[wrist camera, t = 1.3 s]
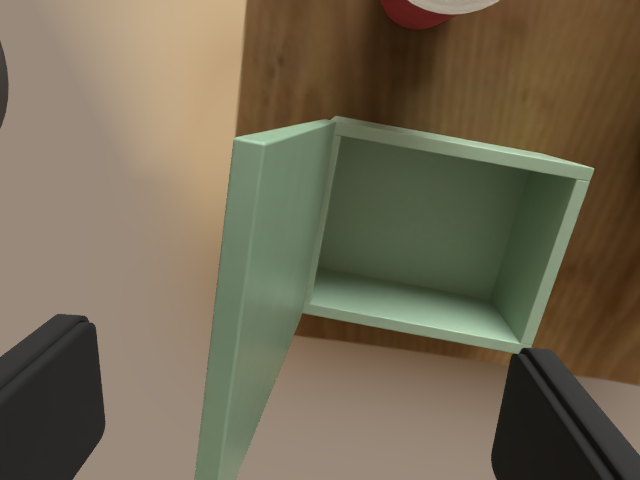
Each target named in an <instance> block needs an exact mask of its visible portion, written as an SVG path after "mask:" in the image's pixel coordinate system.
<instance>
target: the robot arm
mask: <svg viewBox="0 0 640 480" xmlns="http://www.w3.org/2000/svg"><path fill="white" fill-rule="evenodd" d="M104 429H105V414H104V404H103V394H102V384H101V374H100V365H99V354H98V345H97V334H96V327H95V325H94V324H93V323H89V320H88V318H87V317H85V316H80V315H66V314H57V315H55V316H54V317H53V318H51V319H50V320H49V321H47V322H46V323H45V324H43V325H42V326H41V327H39V328H38V329H37V330H35V331H34V332H33V333H32V334H30V335H29V336H28V337H26V338H25V339H24V340H22V341H21V342H19V343H18V344H17V345H16V346H14V347H13V348H12V349H10V350H9V351H8V352H6V353H5V354H4V355H2V356H1V357H0V480H72V479H73V478H74V477H75V475H76V473H77V472H78V471H79V470H80V468H81V467H82V465H83V464H84V462H85V461H86V460H87V458H88V457H89V455H90V454H91V453H92V451H93V450H94V448H95V447H96V445H97V444H98V443H99V441H100V439H101V438H102V435H103V433H104ZM491 461H492V468H493V471H494V474H495V477H496V479H497V480H640V455H639V454H638V453H637V452H636V451H635V449H634V448H633V447H632V446H631V444H630V443H629V442H628V441H627V440H626V439H625V437H624V436H623V435H622V434H621V432H620V431H619V430H618V429H617V428H616V427H615V425H614V424H613V423H612V422H611V420H610V419H609V418H608V417H607V416H606V414H605V413H604V412H603V411H602V410H601V408H600V407H599V406H598V405H597V404H596V403H595V401H594V400H593V399H592V398H591V396H590V395H589V394H588V393H587V392H586V390H585V389H584V388H583V387H582V386H581V384H580V383H579V382H578V381H577V379H576V378H575V377H574V376H573V375H572V373H571V372H570V371H569V370H568V369H567V367H566V366H565V365H564V364H563V363H562V361H561V360H560V359H559V358H558V357H557V355H556V354H555V353H554V352H553V351H552V350H549V349H537V348H522V349H521V350H520V352H519V354H515V353H514V354H513V355H512V357H511V360H510V364H509V370H508V374H507V379H506V385H505V389H504V395H503V399H502V404H501V409H500V414H499V419H498V424H497V428H496V433H495V439H494V444H493V448H492V455H491Z"/></svg>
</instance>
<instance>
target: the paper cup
mask: <svg viewBox="0 0 640 480" xmlns="http://www.w3.org/2000/svg"><path fill="white" fill-rule="evenodd" d="M380 1H381V4H382V6H383V8H384V10H385V12H386V13H387V15H388V16H389V17H390V18H391V19H392V20H393V21H394V22H395V23H397V24H398V25H400V26H402V27H404V28H407V29H413V30H421V29H427V28H431V27H433V26H436V25H438V24H440V23H442V22H444V21H446V20H448V19H450V18H452V17H454V16H456V15H459V14H465V13H470V12H474V11H478V10H481V9H483V8H486V7H488V6H490V5H493V4H494V3H496V2H498V1H499V0H380Z"/></svg>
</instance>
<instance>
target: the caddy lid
mask: <svg viewBox="0 0 640 480" xmlns="http://www.w3.org/2000/svg"><path fill="white" fill-rule="evenodd" d="M335 126H336V122H335V121H332V120H326V119H323V120H318V121H313V122H308V123H303V124H298V125H294V126H289V127H284V128H279V129H274V130H270V131H265V132H260V133H255V134H250V135H245V136H241V137H236V138H235V139H234V141H233V149H232V158H231V167H230V175H229V184H228V193H227V201H226V202H227V203H226V211H225V219H224V227H223V236H222V245H221V253H220V262H219V271H218V280H217V288H216V296H215V305H214V314H213V323H212V331H211V340H210V349H209V357H208V366H207V374H206V375H207V376H206V383H205V392H204V400H203V409H202V418H201V427H200V435H199V444H198V453H197V461H196V470H195V478H194V480H236V478H237V475H238V473H239V470H240V468H241V465H242V463H243V460H244V458H245V455H246V453H247V450H248V448H249V445H250V443H251V440H252V438H253V435H254V433H255V430H256V428H257V425H258V423H259V421H260V418H261V416H262V413H263V411H264V408H265V406H266V403H267V401H268V398H269V395H270V393H271V390H272V388H273V386H274V383H275V381H276V378H277V376H278V373H279V371H280V368H281V366H282V363H283V360H284V358H285V356H286V353H287V351H288V348H289V346H290V343H291V341H292V338H293V336H294V333H295V331H296V328H297V326H298V323H299V321H300V318H301V316H302V310H303V305H304V299H305V293H306V288H307V282H308V277H309V271H310V266H311V260H312V254H313V249H314V243H315V238H316V232H317V227H318V221H319V215H320V210H321V204H322V199H323V193H324V188H325V182H326V176H327V171H328V165H329V160H330V154H331V149H332V143H333V137H334V132H335Z"/></svg>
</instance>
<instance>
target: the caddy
mask: <svg viewBox="0 0 640 480" xmlns="http://www.w3.org/2000/svg"><path fill="white" fill-rule="evenodd" d="M331 120H332V121H335V122H336V126H335V132H334V137H333V143H332V149H331V154H330V160H329V165H328V171H327V176H326V182H325V188H324V193H323V199H322V204H321V210H320V215H319V221H318V227H317V232H316V238H315V243H314V249H313V254H312V260H311V266H310V271H309V277H308V282H307V288H306V293H305V299H304V305H303V310H302V313H304V314H309V315H314V316H319V317H325V318H330V319H335V320H341V321H346V322H351V323H356V324H362V325H367V326H372V327H378V328H383V329H388V330H393V331H399V332H404V333H409V334H414V335H420V336H425V337H430V338H436V339H441V340H446V341H451V342H457V343H462V344H467V345H473V346H478V347H483V348H488V349H494V350H499V351H504V352H509V353H515V354H519V352H520V350H521V349H522V348H531V345H532V344H533V341H534V338H535V335H536V333H537V330H538V327H539V324H540V321H541V318H542V316H543V313H544V310H545V307H546V304H547V302H548V299H549V296H550V293H551V290H552V287H553V285H554V282H555V279H556V276H557V273H558V270H559V268H560V265H561V262H562V259H563V256H564V253H565V251H566V248H567V245H568V242H569V239H570V237H571V234H572V231H573V228H574V225H575V222H576V220H577V217H578V214H579V211H580V208H581V205H582V203H583V200H584V197H585V194H586V191H587V189H588V186H589V183H590V182H589V181H590V180H591V177H592V174H593V171H594V168H592V167H588V166H584V165H581V164H577V163H574V162H570V161H567V160H563V159H560V158H556V157H552V156H549V155H545V154H542V153H536V152H531V151H525V150H520V149H515V148H509V147H504V146H498V145H493V144H487V143H482V142H476V141H471V140H465V139H460V138H455V137H449V136H444V135H438V134H433V133H427V132H422V131H416V130H411V129H405V128H400V127H395V126H389V125H384V124H378V123H373V122H367V121H362V120H356V119H351V118H345V117H340V116H334V117H333V118H332V119H331Z"/></svg>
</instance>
